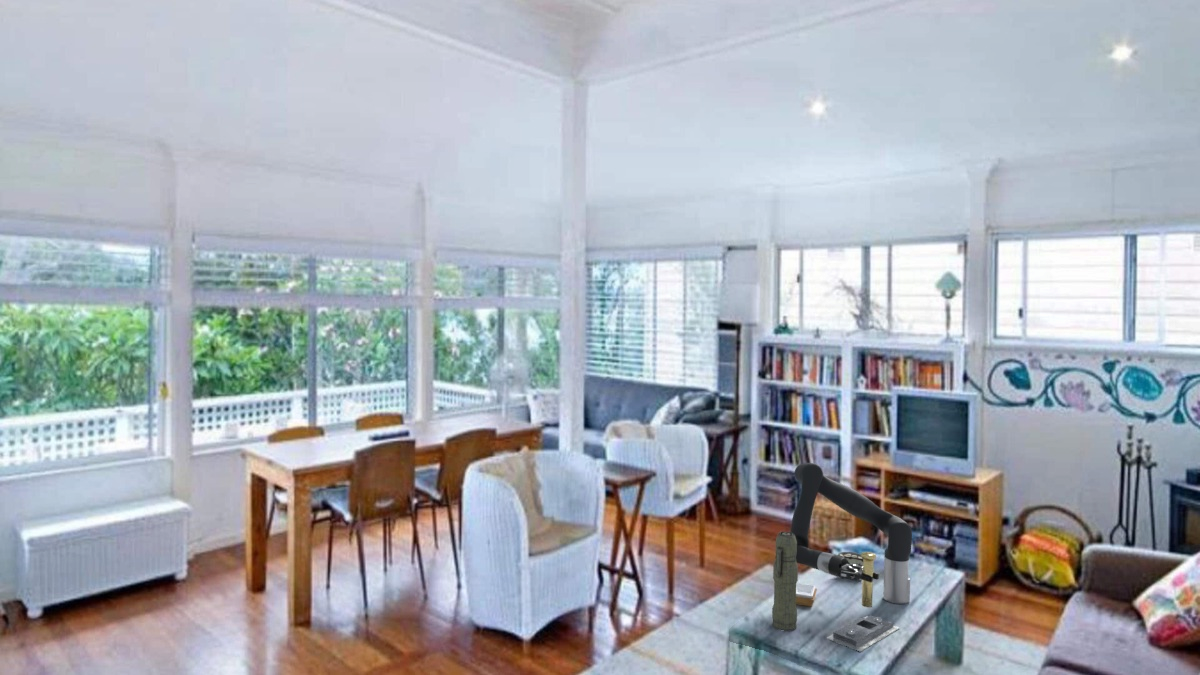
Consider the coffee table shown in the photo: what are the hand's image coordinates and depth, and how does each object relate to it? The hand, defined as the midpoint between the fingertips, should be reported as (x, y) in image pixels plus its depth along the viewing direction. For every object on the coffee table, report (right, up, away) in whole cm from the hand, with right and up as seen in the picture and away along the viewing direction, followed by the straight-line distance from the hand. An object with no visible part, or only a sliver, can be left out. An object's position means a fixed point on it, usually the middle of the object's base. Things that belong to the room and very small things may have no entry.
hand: (875, 578), depth 264 cm
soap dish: (-17, -20, +31) cm, 41 cm away
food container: (+11, -18, +58) cm, 62 cm away
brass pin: (-2, -11, +3) cm, 11 cm away
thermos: (-31, -21, +8) cm, 38 cm away
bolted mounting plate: (-3, -21, +2) cm, 21 cm away
